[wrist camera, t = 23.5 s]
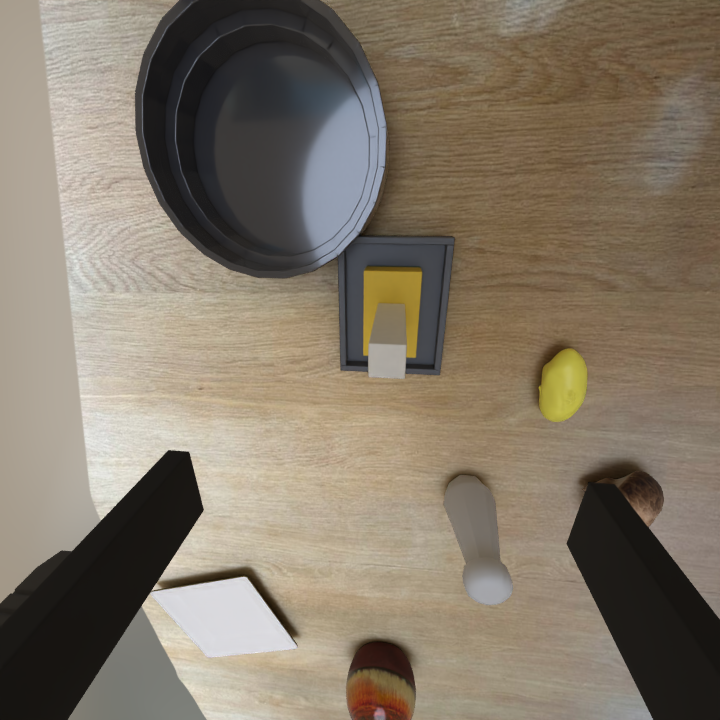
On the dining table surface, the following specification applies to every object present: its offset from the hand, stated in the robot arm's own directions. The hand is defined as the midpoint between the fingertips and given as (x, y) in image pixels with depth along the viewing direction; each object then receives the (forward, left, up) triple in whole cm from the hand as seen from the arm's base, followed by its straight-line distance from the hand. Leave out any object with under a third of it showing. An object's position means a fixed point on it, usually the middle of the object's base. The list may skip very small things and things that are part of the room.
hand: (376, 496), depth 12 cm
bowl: (+16, -2, -25) cm, 29 cm away
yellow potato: (-17, -7, -25) cm, 31 cm away
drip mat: (0, 0, -25) cm, 25 cm away
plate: (-20, +56, -25) cm, 64 cm away
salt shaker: (-23, +9, -25) cm, 35 cm away
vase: (-44, +43, -25) cm, 66 cm away
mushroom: (-33, -4, -25) cm, 42 cm away
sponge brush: (0, 0, -24) cm, 24 cm away
